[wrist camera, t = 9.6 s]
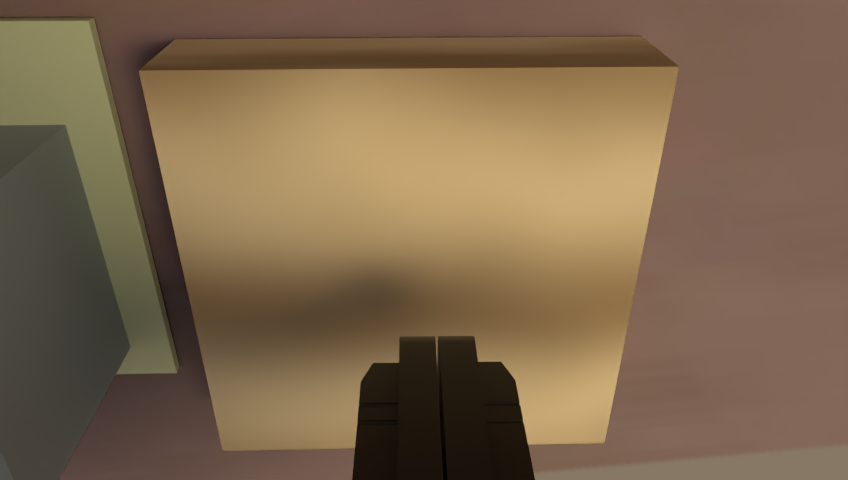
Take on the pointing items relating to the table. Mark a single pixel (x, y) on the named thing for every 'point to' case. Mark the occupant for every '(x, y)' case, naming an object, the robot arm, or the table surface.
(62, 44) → the mat
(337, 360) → the block
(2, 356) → the box
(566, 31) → the table surface
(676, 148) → the table surface
